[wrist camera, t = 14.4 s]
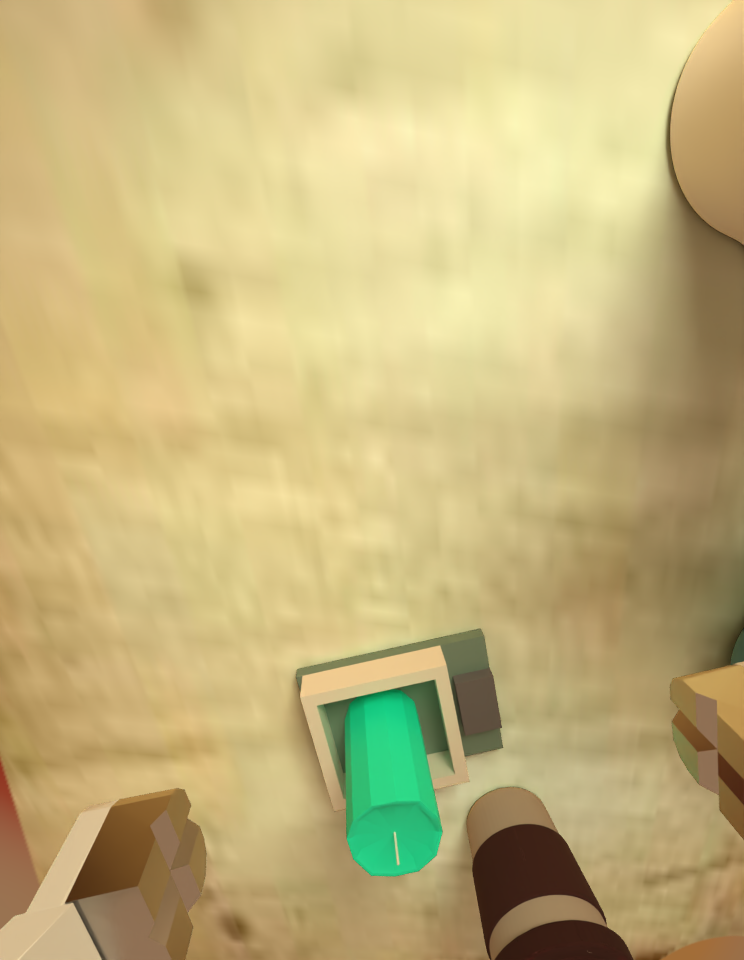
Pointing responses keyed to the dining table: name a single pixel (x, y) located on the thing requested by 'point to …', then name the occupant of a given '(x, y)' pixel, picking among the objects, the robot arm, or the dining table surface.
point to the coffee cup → (533, 885)
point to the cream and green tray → (428, 682)
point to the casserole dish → (738, 650)
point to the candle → (389, 786)
